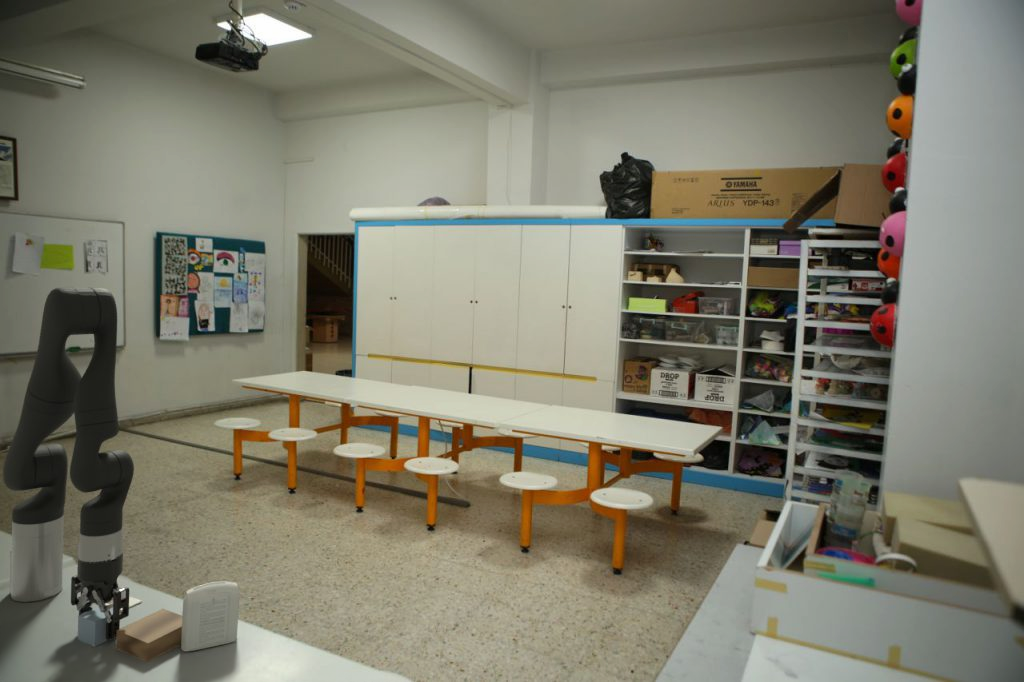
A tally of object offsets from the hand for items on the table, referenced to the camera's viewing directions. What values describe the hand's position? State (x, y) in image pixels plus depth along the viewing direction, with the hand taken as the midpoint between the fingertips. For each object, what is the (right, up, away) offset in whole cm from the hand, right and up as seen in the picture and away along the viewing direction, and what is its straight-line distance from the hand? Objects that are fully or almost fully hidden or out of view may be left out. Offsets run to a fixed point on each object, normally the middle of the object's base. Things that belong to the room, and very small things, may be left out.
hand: (98, 632), depth 128 cm
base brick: (+12, -2, -1) cm, 12 cm away
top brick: (0, -1, 0) cm, 1 cm away
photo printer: (+22, -3, +1) cm, 22 cm away
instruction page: (-5, 0, +14) cm, 15 cm away
